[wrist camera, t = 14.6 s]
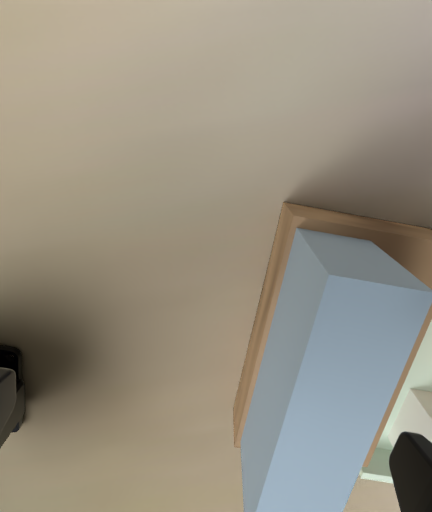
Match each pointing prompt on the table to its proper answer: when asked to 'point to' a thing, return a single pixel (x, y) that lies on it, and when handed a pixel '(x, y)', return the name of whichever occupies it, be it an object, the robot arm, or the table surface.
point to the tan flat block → (292, 216)
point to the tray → (420, 378)
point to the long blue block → (327, 372)
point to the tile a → (414, 416)
